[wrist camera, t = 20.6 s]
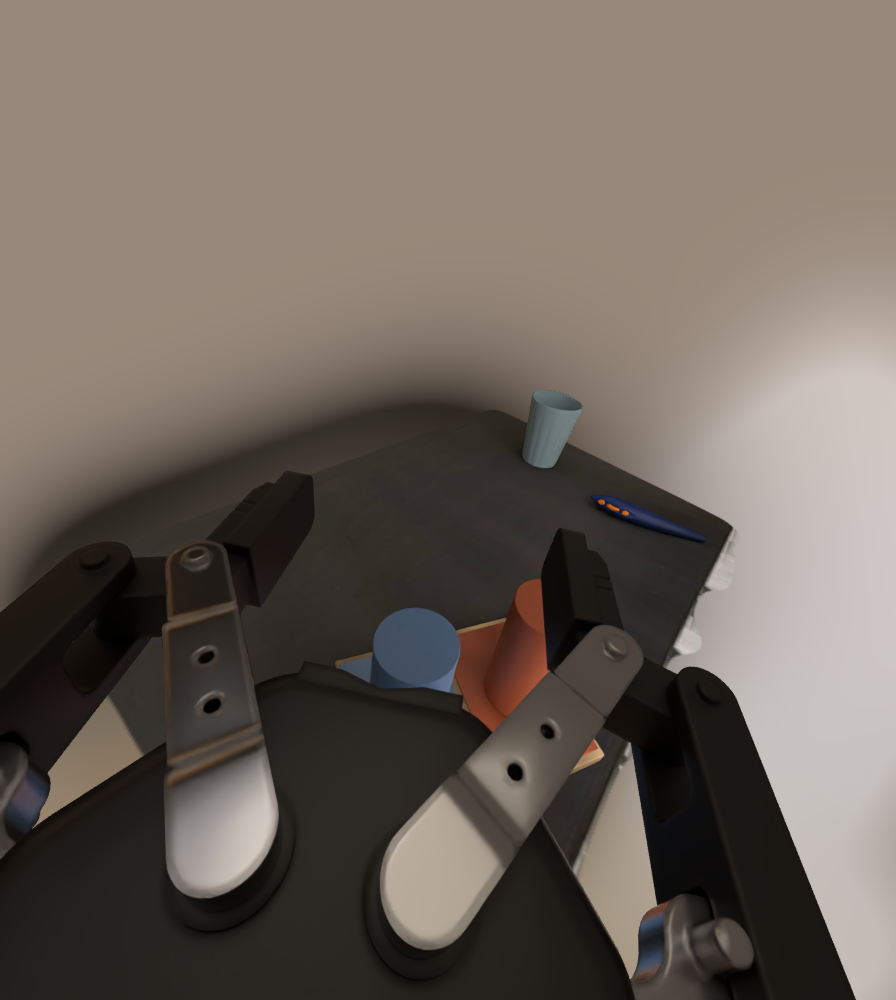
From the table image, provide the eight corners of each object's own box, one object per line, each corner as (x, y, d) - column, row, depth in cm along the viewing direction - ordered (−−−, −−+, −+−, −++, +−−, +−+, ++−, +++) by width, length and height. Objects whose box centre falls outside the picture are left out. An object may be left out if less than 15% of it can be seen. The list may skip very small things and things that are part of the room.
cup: (563, 476, 64) (585, 414, 58) (514, 466, 65) (532, 403, 59) (560, 454, 70) (580, 396, 65) (516, 444, 71) (532, 386, 65)
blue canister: (376, 777, 27) (386, 695, 21) (359, 704, 30) (363, 617, 24) (447, 751, 29) (474, 669, 23) (423, 685, 32) (441, 600, 26)
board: (374, 864, 24) (375, 858, 23) (334, 668, 33) (334, 660, 33) (599, 761, 31) (605, 754, 30) (514, 621, 40) (517, 613, 39)
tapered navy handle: (697, 541, 57) (706, 526, 56) (703, 552, 54) (713, 537, 53) (587, 500, 60) (594, 485, 59) (587, 508, 57) (595, 493, 56)
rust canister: (502, 728, 30) (540, 647, 25) (474, 668, 34) (501, 585, 28) (557, 708, 32) (605, 628, 26) (525, 653, 36) (560, 572, 30)
